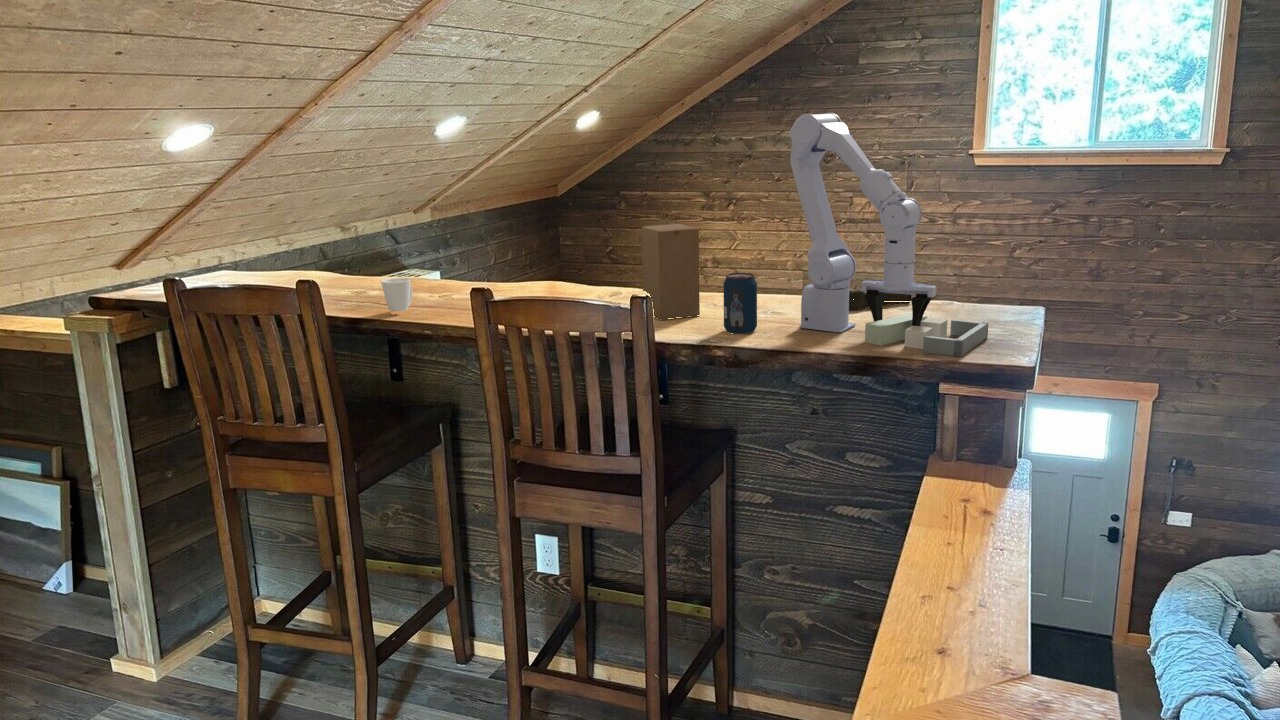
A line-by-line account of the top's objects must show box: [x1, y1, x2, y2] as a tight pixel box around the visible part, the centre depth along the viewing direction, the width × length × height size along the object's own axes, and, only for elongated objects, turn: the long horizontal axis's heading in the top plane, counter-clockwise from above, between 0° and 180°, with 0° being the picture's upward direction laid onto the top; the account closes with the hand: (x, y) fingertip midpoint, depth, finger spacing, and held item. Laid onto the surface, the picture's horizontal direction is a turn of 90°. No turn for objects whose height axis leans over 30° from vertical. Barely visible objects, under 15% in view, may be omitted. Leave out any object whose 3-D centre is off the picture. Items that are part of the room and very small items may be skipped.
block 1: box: [904, 326, 933, 350], centre depth 185 cm, size 4×4×4 cm
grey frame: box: [922, 318, 989, 358], centre depth 185 cm, size 7×17×3 cm, turn 145°
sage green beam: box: [864, 312, 928, 346], centre depth 192 cm, size 4×14×4 cm, turn 126°
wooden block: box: [640, 223, 701, 320], centre depth 216 cm, size 10×10×20 cm
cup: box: [380, 277, 413, 312], centre depth 229 cm, size 7×10×8 cm
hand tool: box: [849, 289, 912, 312], centre depth 221 cm, size 19×4×5 cm, turn 111°
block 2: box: [921, 317, 948, 338], centre depth 191 cm, size 4×4×4 cm
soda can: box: [723, 272, 758, 335], centre depth 200 cm, size 7×7×12 cm
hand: (896, 329), depth 192 cm, fingers open, 7 cm apart
